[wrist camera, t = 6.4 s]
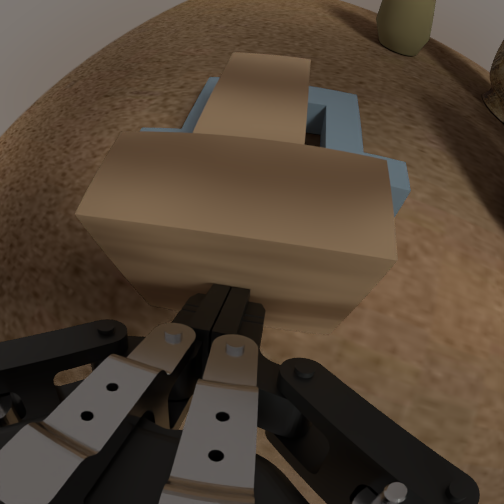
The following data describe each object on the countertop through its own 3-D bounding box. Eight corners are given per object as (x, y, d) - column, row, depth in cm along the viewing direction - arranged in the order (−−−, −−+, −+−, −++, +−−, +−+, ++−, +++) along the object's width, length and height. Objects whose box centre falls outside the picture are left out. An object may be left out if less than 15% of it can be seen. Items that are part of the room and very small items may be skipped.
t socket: (394, 217, 20) (410, 190, 17) (139, 181, 21) (127, 152, 19) (382, 129, 24) (391, 103, 21) (181, 103, 26) (176, 76, 23)
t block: (328, 335, 16) (397, 260, 8) (149, 305, 17) (74, 214, 9) (336, 179, 21) (367, 70, 13) (198, 161, 22) (179, 52, 14)
